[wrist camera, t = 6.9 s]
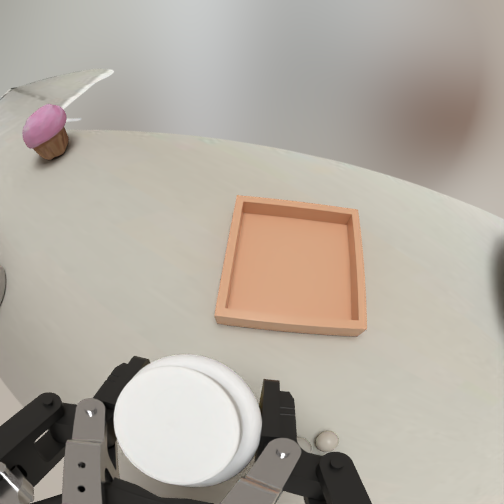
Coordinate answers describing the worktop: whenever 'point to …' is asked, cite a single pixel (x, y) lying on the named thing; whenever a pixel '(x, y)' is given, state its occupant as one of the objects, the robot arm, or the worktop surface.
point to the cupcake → (46, 131)
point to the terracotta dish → (293, 269)
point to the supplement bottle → (188, 421)
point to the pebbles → (321, 442)
